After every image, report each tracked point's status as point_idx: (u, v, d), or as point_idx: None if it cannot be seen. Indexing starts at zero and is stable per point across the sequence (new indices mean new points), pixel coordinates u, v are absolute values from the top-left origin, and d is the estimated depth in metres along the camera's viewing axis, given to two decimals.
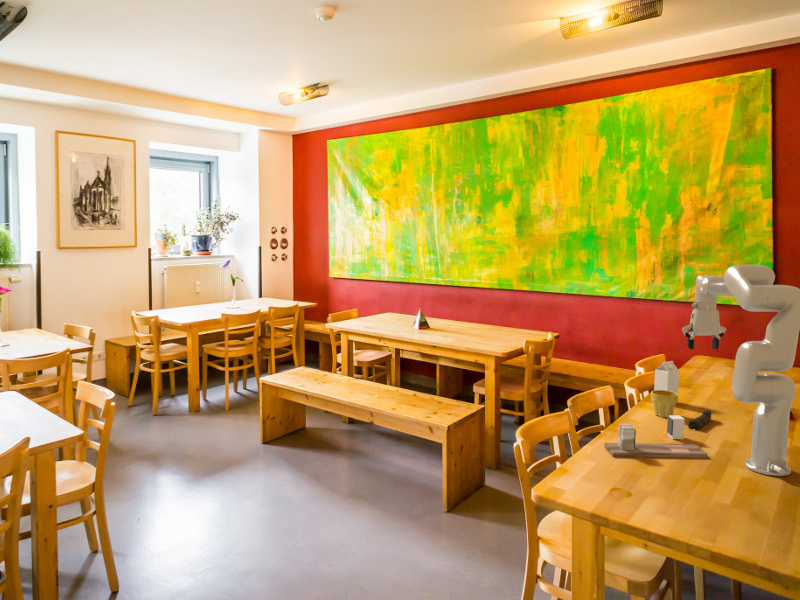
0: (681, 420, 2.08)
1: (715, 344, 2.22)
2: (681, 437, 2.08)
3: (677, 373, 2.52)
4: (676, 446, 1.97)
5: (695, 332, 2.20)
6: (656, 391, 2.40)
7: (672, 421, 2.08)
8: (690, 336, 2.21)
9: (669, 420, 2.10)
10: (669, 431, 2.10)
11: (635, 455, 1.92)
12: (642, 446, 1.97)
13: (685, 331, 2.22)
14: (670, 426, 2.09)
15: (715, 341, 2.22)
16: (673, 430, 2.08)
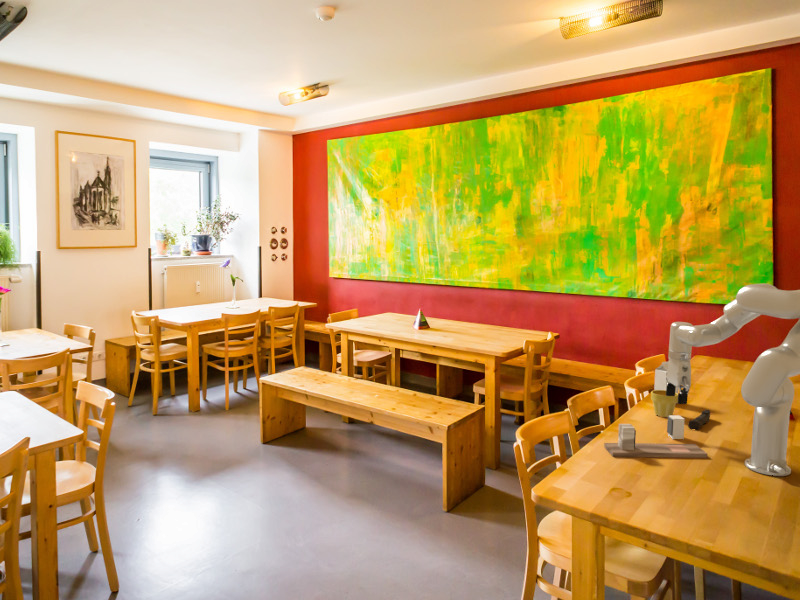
0: (681, 420, 2.08)
1: (673, 391, 2.14)
2: (681, 437, 2.08)
3: None
4: (676, 446, 1.97)
5: (690, 385, 2.04)
6: (656, 391, 2.40)
7: (672, 421, 2.08)
8: None
9: (669, 420, 2.10)
10: (669, 431, 2.10)
11: (635, 455, 1.92)
12: (642, 446, 1.97)
13: None
14: (670, 426, 2.09)
15: (673, 388, 2.13)
16: (673, 430, 2.08)
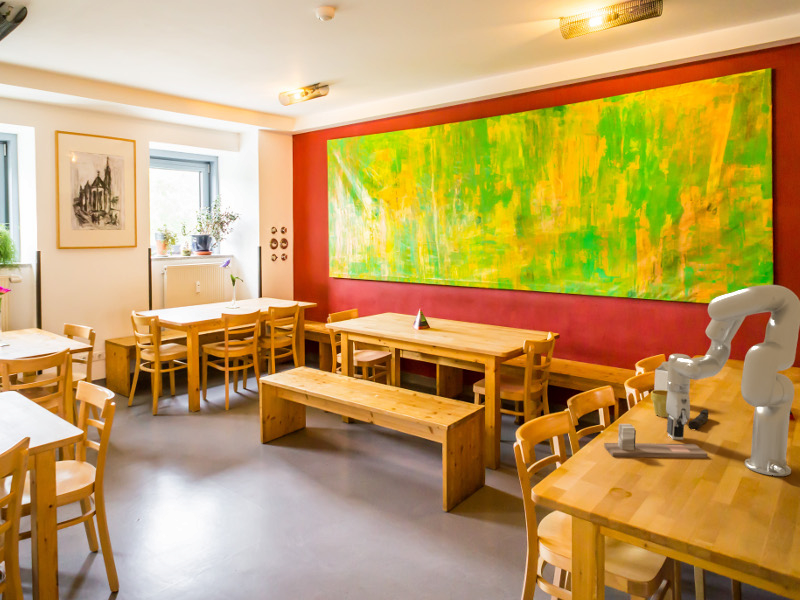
0: None
1: None
2: (681, 437, 2.08)
3: None
4: (676, 446, 1.97)
5: (689, 417, 2.05)
6: (656, 391, 2.40)
7: (672, 421, 2.08)
8: (683, 424, 2.06)
9: (669, 420, 2.10)
10: (669, 431, 2.10)
11: (635, 455, 1.92)
12: (642, 446, 1.97)
13: None
14: (670, 426, 2.09)
15: None
16: (673, 430, 2.08)
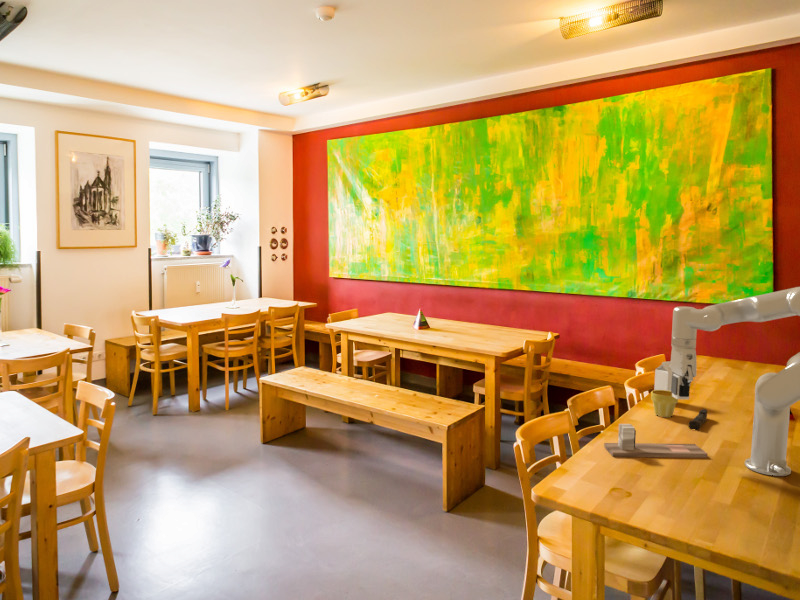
0: (686, 378, 1.91)
1: None
2: (686, 397, 1.92)
3: None
4: (676, 446, 1.97)
5: None
6: (656, 391, 2.40)
7: (677, 379, 1.91)
8: (689, 383, 1.89)
9: (673, 379, 1.93)
10: (673, 390, 1.93)
11: (635, 455, 1.92)
12: (642, 446, 1.97)
13: None
14: (674, 385, 1.92)
15: None
16: (678, 389, 1.91)
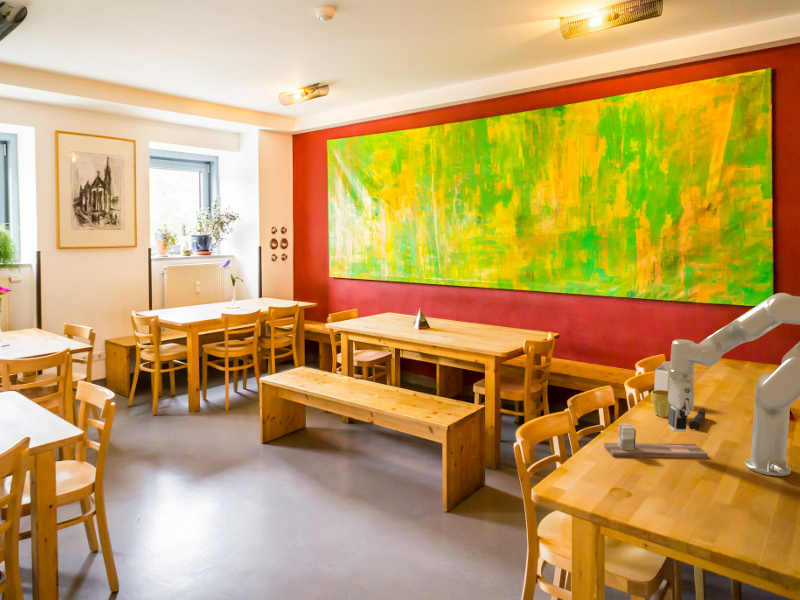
0: None
1: None
2: (683, 429, 1.93)
3: None
4: (676, 446, 1.97)
5: (693, 407, 1.89)
6: (656, 391, 2.40)
7: (674, 412, 1.93)
8: None
9: (671, 411, 1.95)
10: (671, 423, 1.95)
11: (635, 455, 1.92)
12: (642, 446, 1.97)
13: None
14: (672, 417, 1.94)
15: None
16: (675, 422, 1.93)
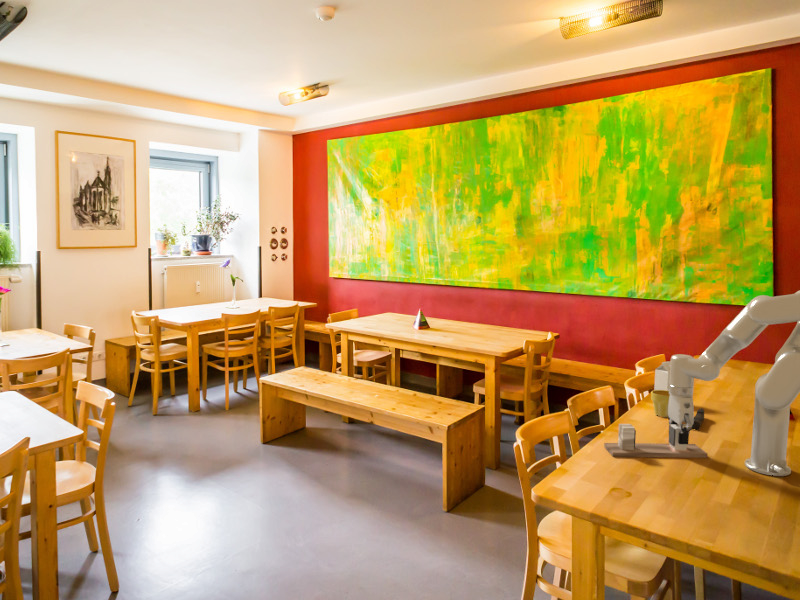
0: None
1: None
2: (684, 448, 1.94)
3: None
4: None
5: (693, 422, 1.90)
6: (656, 391, 2.40)
7: (674, 431, 1.93)
8: None
9: (671, 430, 1.95)
10: (671, 441, 1.95)
11: (635, 455, 1.92)
12: (642, 446, 1.97)
13: None
14: (672, 436, 1.94)
15: None
16: (676, 441, 1.93)
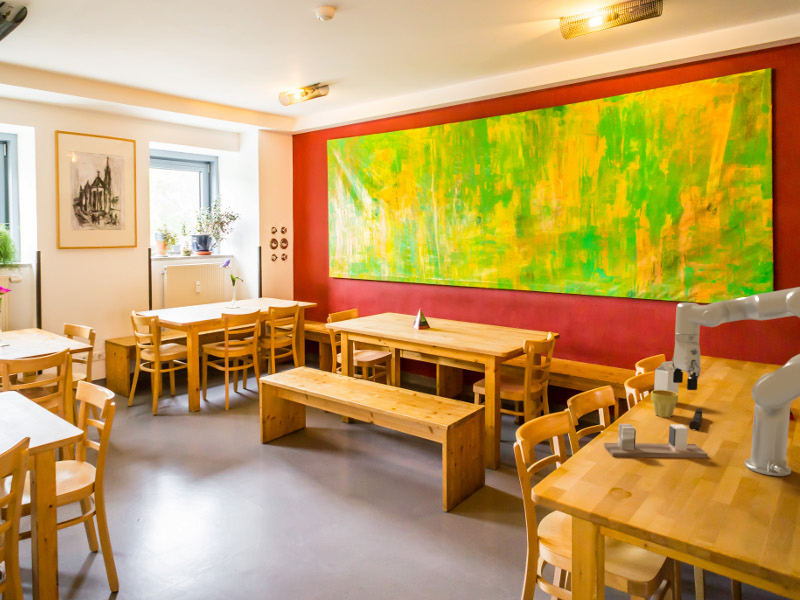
0: (684, 430, 1.93)
1: (680, 377, 2.00)
2: (684, 448, 1.94)
3: None
4: None
5: None
6: (656, 391, 2.40)
7: (674, 431, 1.93)
8: None
9: (671, 430, 1.95)
10: (671, 441, 1.95)
11: (635, 455, 1.92)
12: (642, 446, 1.97)
13: None
14: (672, 436, 1.94)
15: (681, 374, 2.00)
16: (676, 441, 1.93)
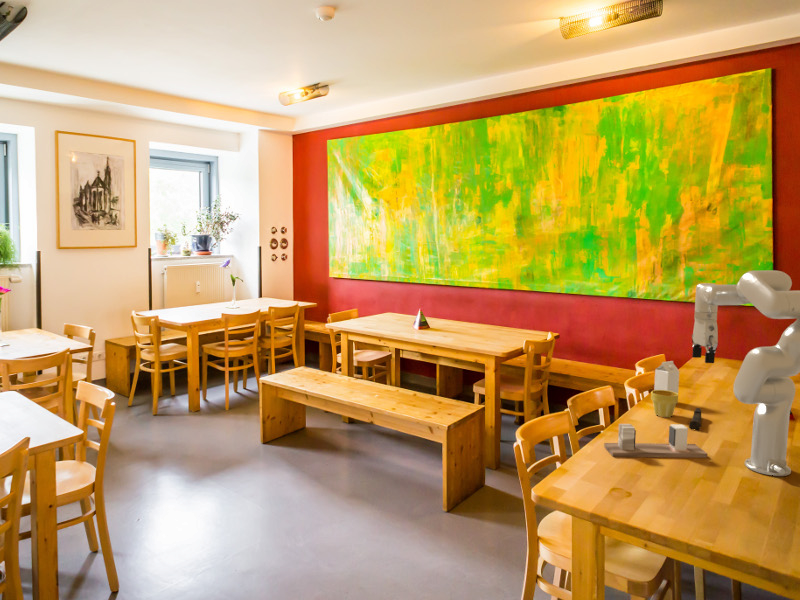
0: (684, 430, 1.93)
1: (699, 352, 2.18)
2: (684, 448, 1.94)
3: (677, 373, 2.52)
4: None
5: None
6: (656, 391, 2.40)
7: (674, 431, 1.93)
8: None
9: (671, 430, 1.95)
10: (671, 441, 1.95)
11: (635, 455, 1.92)
12: (642, 446, 1.97)
13: None
14: (672, 436, 1.94)
15: (699, 349, 2.18)
16: (676, 441, 1.93)
